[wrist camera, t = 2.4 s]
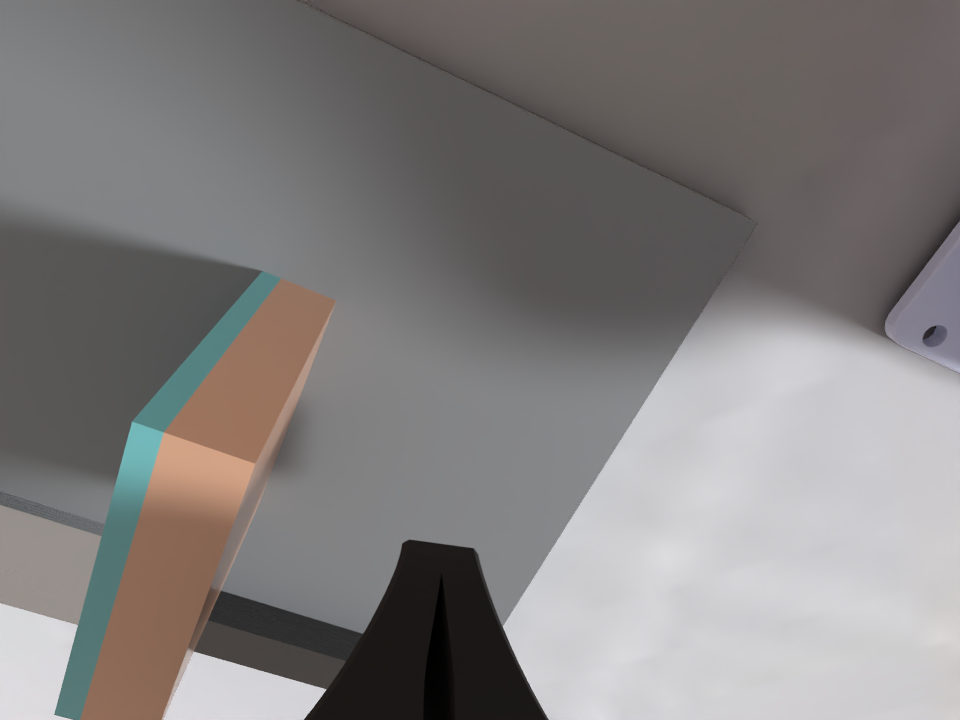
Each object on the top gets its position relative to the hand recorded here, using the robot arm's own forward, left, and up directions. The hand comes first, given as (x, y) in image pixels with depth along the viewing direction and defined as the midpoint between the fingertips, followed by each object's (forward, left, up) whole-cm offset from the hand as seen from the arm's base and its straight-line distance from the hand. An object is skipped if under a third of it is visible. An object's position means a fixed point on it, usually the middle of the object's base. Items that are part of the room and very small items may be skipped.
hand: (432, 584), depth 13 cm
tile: (+4, 0, -4) cm, 6 cm away
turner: (+5, +6, -4) cm, 9 cm away
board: (+5, 0, -4) cm, 7 cm away
